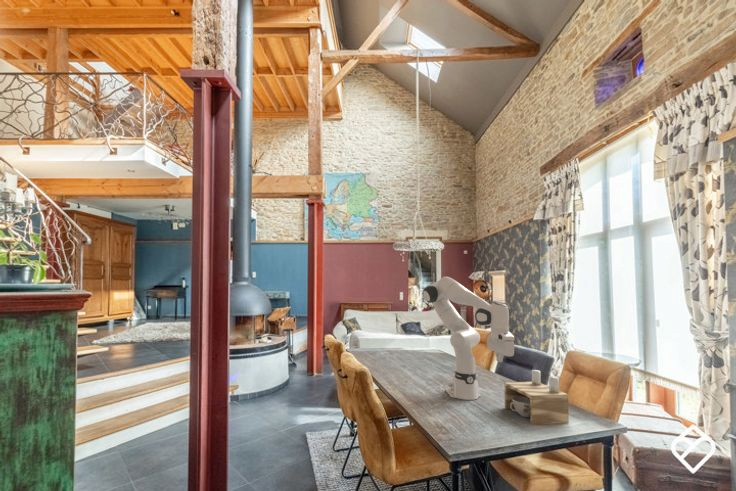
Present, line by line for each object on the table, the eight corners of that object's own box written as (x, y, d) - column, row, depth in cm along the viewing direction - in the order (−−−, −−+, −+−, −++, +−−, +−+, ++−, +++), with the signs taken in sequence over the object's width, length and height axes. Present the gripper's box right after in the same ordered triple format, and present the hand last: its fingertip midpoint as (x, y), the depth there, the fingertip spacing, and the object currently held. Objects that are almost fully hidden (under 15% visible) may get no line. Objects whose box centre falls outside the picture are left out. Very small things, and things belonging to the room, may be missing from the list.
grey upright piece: (547, 390, 194) (547, 376, 194) (554, 390, 194) (554, 376, 195) (553, 393, 189) (552, 378, 190) (560, 392, 190) (560, 378, 191)
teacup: (529, 410, 203) (529, 395, 203) (544, 419, 190) (544, 402, 191) (503, 411, 200) (503, 396, 201) (517, 420, 188) (517, 403, 188)
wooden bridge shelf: (504, 408, 206) (504, 382, 207) (537, 406, 210) (536, 381, 211) (532, 424, 182) (532, 395, 184) (568, 422, 187) (568, 394, 188)
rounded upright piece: (530, 383, 207) (529, 369, 208) (537, 382, 208) (537, 369, 209) (535, 385, 203) (535, 371, 204) (542, 385, 204) (542, 371, 204)
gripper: (484, 331, 205) (483, 357, 204) (505, 337, 185) (504, 366, 184) (494, 331, 207) (494, 357, 205) (516, 337, 187) (516, 366, 185)
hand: (499, 361), depth 195 cm, fingers closed
